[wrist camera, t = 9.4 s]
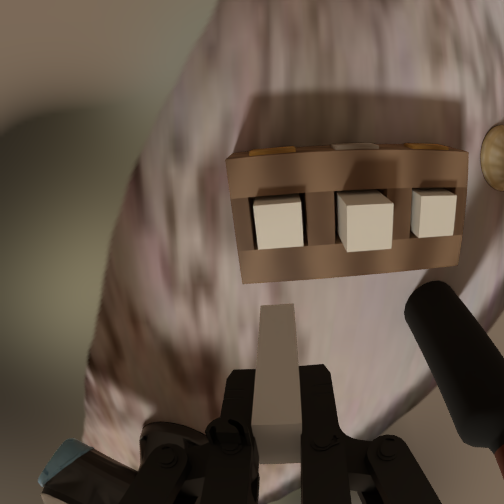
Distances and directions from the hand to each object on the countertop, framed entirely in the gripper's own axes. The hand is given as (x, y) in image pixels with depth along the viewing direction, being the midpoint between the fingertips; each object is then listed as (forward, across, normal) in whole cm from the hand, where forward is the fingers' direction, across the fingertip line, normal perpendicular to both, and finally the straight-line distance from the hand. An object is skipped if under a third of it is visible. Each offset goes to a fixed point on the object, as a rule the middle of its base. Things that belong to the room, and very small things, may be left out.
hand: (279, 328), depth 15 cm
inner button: (+19, 0, 0) cm, 19 cm away
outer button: (+19, +15, 0) cm, 24 cm away
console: (+20, +8, 0) cm, 21 cm away
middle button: (+17, +8, 0) cm, 18 cm away
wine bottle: (+20, +19, -14) cm, 31 cm away
